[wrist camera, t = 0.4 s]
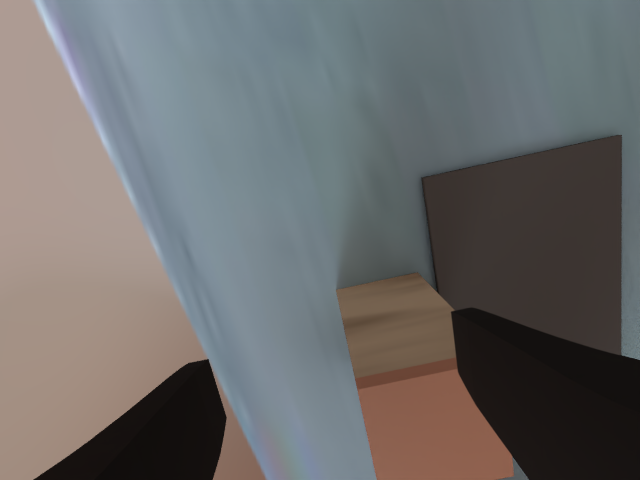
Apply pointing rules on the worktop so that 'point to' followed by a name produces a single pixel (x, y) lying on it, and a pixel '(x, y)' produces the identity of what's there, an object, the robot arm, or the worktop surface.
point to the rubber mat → (535, 240)
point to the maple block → (415, 386)
